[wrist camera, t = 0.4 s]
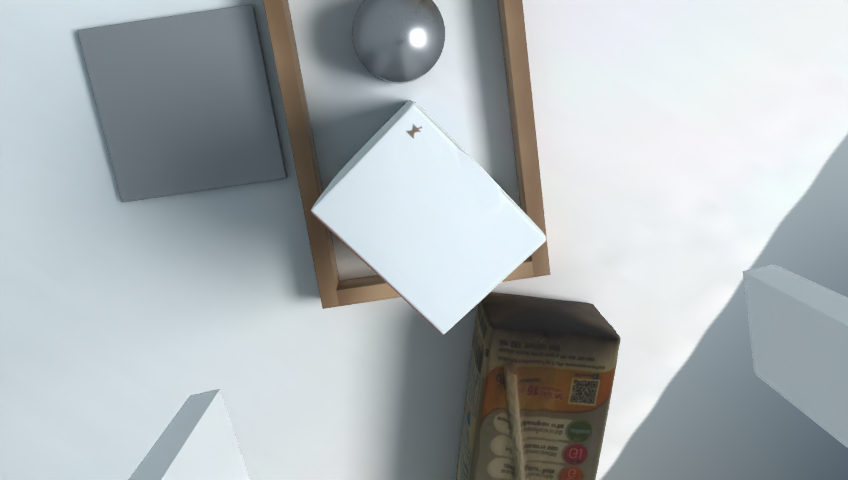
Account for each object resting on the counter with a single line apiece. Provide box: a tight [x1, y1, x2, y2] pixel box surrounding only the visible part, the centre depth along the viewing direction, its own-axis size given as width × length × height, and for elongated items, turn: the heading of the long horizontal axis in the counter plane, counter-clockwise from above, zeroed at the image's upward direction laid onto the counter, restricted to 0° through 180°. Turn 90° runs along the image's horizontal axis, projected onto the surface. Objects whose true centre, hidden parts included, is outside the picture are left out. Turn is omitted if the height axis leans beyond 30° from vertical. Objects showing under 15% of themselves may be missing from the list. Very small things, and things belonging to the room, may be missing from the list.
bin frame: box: [264, 0, 550, 309], centre depth 36 cm, size 14×20×2 cm
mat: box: [77, 4, 287, 202], centre depth 36 cm, size 10×10×1 cm
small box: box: [311, 100, 546, 335], centre depth 32 cm, size 8×6×13 cm
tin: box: [352, 0, 445, 83], centre depth 35 cm, size 5×5×3 cm
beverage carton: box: [456, 292, 620, 480], centre depth 39 cm, size 8×19×7 cm, turn 174°
